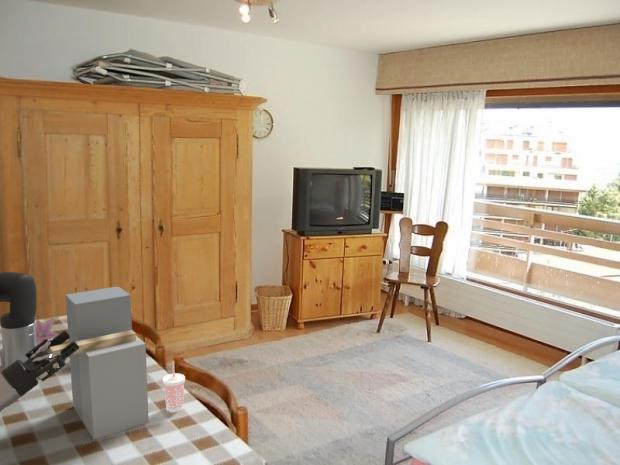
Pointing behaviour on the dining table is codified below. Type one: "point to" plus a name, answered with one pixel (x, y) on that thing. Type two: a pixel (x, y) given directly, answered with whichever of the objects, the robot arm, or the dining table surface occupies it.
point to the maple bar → (99, 342)
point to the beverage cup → (174, 391)
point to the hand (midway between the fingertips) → (72, 338)
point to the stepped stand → (106, 363)
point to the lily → (44, 331)
